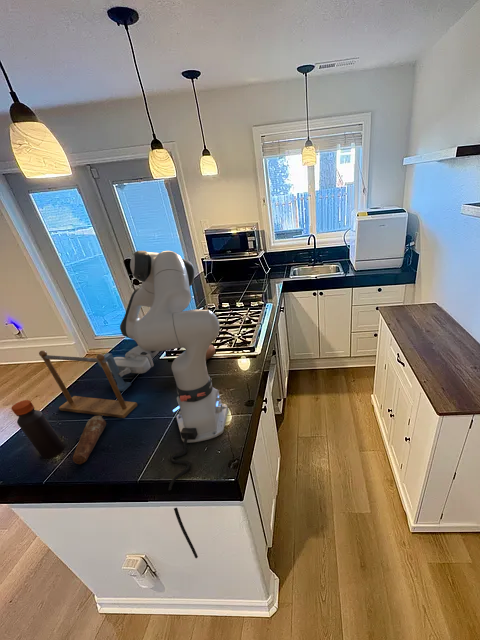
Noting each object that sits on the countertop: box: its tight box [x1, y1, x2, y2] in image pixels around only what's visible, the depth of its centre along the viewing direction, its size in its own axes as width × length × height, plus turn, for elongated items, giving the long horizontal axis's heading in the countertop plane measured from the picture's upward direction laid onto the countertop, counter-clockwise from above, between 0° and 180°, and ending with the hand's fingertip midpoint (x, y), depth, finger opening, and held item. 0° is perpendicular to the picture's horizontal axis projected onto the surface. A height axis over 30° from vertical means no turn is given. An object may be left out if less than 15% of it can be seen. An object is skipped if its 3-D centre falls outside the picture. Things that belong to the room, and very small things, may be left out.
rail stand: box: [38, 350, 138, 419], centre depth 119 cm, size 31×8×25 cm, turn 75°
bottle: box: [10, 399, 65, 459], centre depth 101 cm, size 7×7×20 cm
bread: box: [72, 415, 107, 465], centre depth 106 cm, size 6×19×6 cm, turn 7°
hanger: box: [97, 353, 132, 392], centre depth 131 cm, size 8×5×16 cm
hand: (115, 374), depth 132 cm, fingers open, 3 cm apart
